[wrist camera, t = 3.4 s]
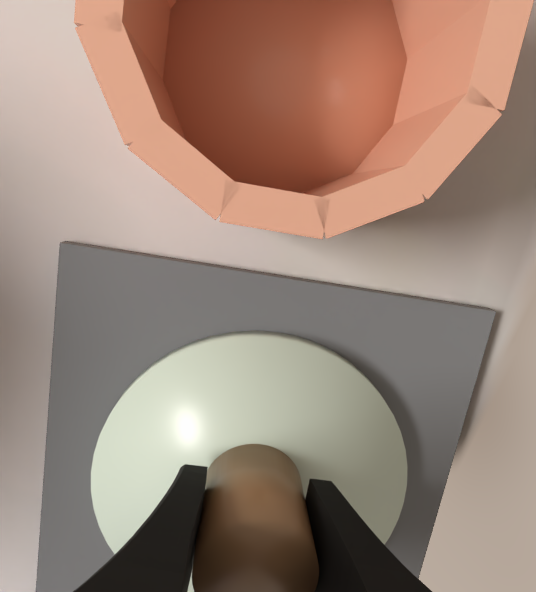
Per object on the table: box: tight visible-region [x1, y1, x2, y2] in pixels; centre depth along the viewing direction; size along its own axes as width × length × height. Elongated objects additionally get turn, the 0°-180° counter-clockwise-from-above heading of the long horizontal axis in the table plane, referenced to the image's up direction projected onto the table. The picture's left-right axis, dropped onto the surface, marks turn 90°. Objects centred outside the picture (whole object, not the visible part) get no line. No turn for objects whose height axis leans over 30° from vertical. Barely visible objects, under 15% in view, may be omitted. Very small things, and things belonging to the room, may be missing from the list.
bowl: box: [74, 0, 534, 239], centre depth 9 cm, size 7×7×4 cm
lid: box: [91, 330, 408, 592], centre depth 12 cm, size 9×9×4 cm
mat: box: [36, 241, 496, 592], centre depth 14 cm, size 12×12×1 cm
